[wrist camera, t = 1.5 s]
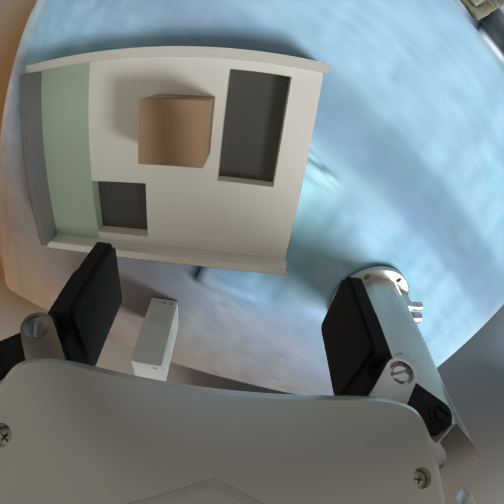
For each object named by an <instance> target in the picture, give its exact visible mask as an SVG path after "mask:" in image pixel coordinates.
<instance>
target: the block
mask: <svg viewBox="0 0 504 504" xmlns="http://www.w3.org/2000/svg"><path fill="white" fill-rule="evenodd" d="M214 106H215V97H213V96H198V95H172V94H156V95H152V96H149V97H146V98H143V99H139V124H138V164H147V165H165V166H179V167H192V168H203V167H204V165H205V163H206V160H207V158H208V156H209V154H210V148H211V137H212V126H213V116H214Z"/></svg>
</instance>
